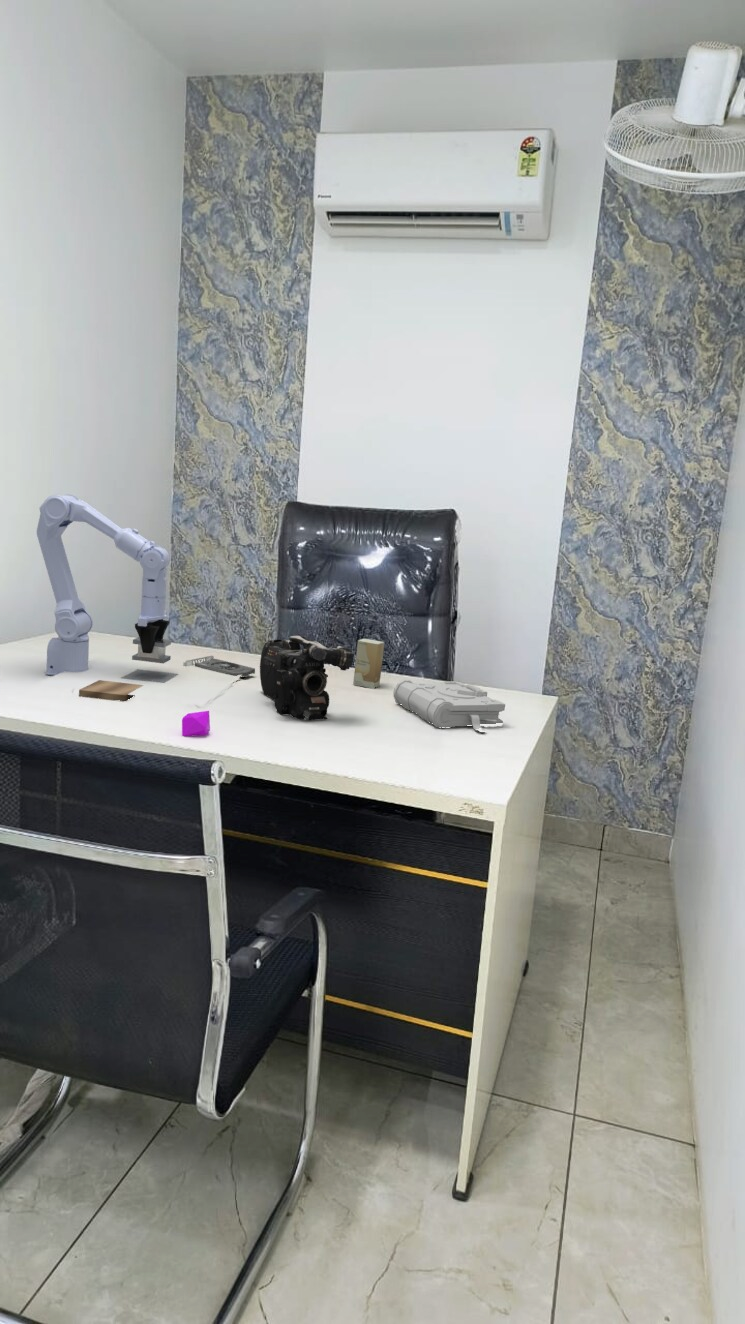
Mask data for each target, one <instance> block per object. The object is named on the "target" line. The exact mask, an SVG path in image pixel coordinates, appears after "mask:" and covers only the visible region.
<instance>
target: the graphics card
mask: <svg viewBox="0 0 745 1324" xmlns="http://www.w3.org/2000/svg"><path fill="white" fill-rule="evenodd" d="M214 657H215V656H214V655H208V656H203V657H197V658H193V659H188V660H185V662H183V665H182V666H183V667H188V666H194V667H196V668H200V669H204V670H208V671H211V672H216V673H221V674H223V675H229V676H234V677H237V676H239V678H241V676H242V677H247V676H250V675H253V674H255V673H256V668H255V667H251V666H247V665H243V664H238V663H235V662H230V661H227V660H222V659H218V658H214Z"/></svg>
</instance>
